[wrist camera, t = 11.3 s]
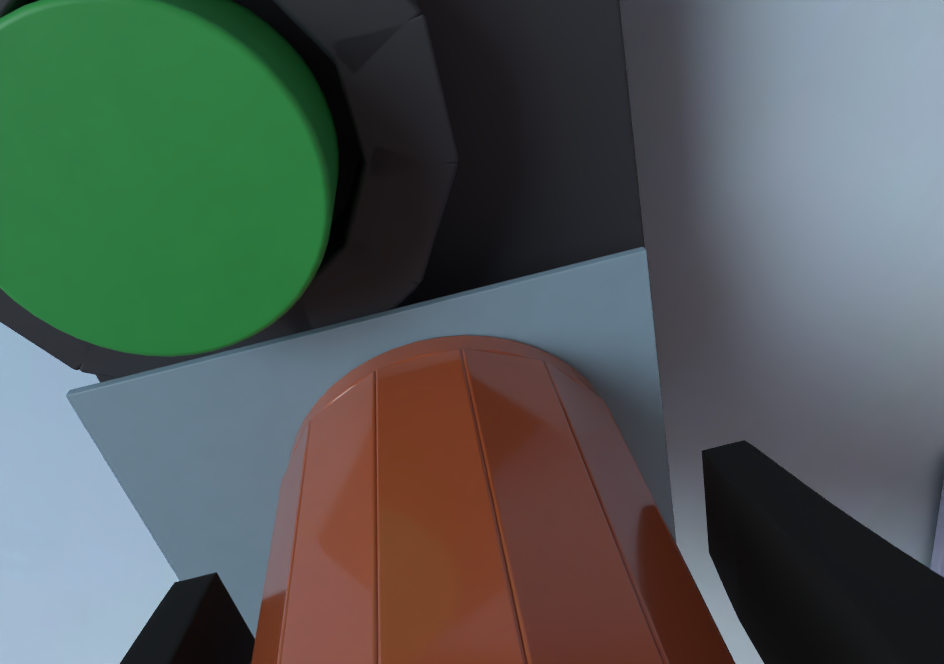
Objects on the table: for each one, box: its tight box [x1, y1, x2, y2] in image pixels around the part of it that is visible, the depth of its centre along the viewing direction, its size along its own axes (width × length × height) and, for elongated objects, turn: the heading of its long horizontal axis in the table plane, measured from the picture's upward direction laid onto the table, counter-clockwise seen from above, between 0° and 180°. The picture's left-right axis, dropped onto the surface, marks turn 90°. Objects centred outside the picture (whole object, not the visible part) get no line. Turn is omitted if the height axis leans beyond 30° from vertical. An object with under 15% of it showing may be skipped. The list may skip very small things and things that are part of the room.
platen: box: [66, 247, 677, 638], centre depth 12 cm, size 6×8×1 cm
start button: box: [0, 0, 339, 357], centre depth 9 cm, size 4×4×2 cm
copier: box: [0, 0, 645, 383], centre depth 13 cm, size 13×10×4 cm
